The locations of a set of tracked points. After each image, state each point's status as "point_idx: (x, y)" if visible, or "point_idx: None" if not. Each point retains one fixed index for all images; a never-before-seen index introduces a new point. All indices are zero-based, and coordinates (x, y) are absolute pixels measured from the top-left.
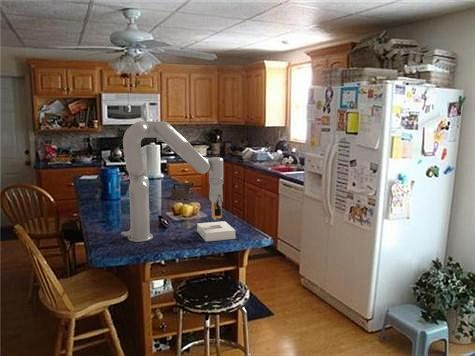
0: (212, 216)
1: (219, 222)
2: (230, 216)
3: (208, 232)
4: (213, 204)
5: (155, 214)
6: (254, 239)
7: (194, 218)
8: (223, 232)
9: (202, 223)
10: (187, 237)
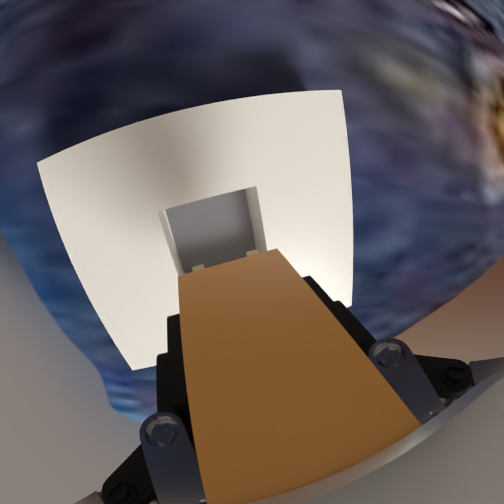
0: (241, 263)
1: (334, 273)
2: (455, 290)
3: (51, 185)
4: (212, 468)
5: (501, 27)
6: (139, 397)
7: (481, 141)
8: (93, 299)
9: (335, 134)
10: (172, 20)
